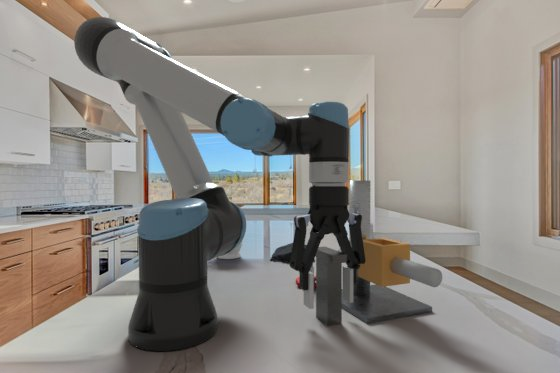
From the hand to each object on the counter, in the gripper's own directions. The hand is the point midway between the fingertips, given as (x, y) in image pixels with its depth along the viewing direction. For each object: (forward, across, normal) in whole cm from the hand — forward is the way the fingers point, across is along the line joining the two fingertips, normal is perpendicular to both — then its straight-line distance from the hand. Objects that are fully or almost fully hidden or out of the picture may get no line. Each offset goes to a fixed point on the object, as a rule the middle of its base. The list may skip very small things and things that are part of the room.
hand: (328, 303), depth 66 cm
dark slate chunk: (+4, +17, +56) cm, 59 cm away
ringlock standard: (+3, +14, +6) cm, 16 cm away
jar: (+4, -5, +62) cm, 62 cm away
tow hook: (+4, +8, +23) cm, 25 cm away
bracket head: (-3, +14, -3) cm, 15 cm away
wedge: (+3, 0, 0) cm, 3 cm away
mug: (+4, +39, +42) cm, 57 cm away
